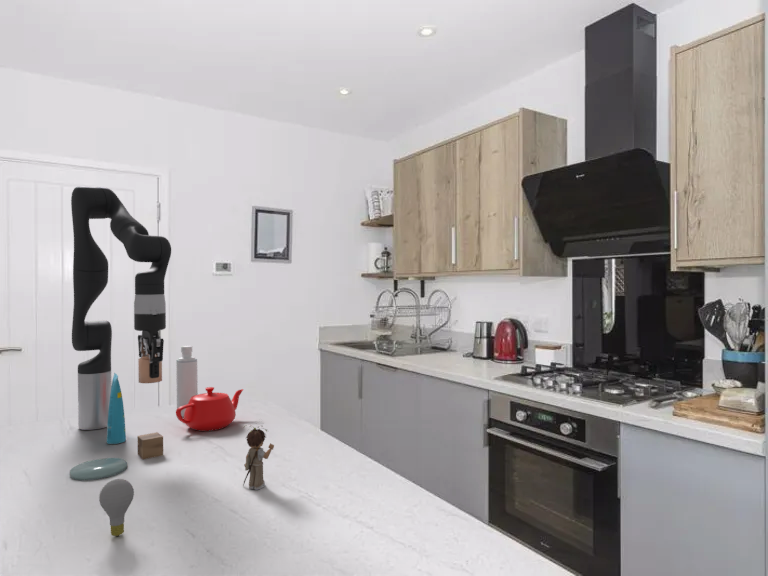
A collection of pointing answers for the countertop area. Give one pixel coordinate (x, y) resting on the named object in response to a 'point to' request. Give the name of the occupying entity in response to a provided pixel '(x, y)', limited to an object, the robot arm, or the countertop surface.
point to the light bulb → (116, 503)
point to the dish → (98, 469)
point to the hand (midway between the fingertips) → (150, 375)
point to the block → (150, 445)
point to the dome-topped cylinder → (147, 371)
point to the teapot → (209, 410)
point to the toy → (256, 458)
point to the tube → (116, 415)
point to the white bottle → (186, 377)
